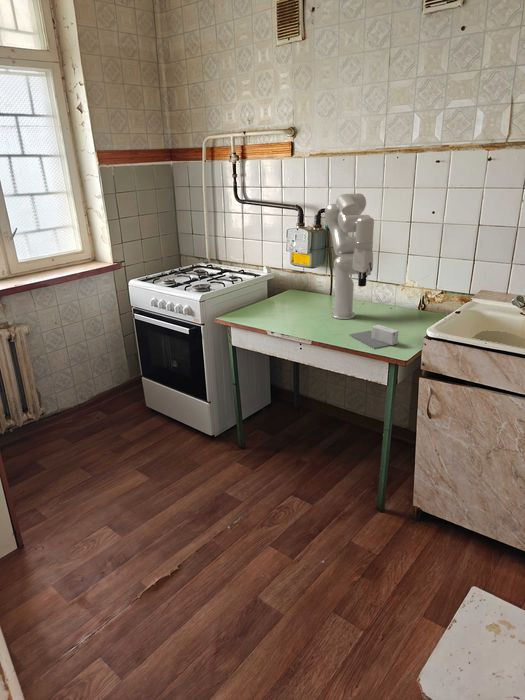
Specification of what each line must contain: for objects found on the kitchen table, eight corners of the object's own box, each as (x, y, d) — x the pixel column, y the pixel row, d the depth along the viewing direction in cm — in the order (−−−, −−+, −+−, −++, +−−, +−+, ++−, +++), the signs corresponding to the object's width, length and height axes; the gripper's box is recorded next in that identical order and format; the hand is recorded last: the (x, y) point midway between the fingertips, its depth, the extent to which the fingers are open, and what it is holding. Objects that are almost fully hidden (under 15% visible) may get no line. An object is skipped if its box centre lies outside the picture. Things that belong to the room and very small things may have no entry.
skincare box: (376, 336, 231) (398, 343, 222) (370, 338, 229) (392, 346, 220) (377, 323, 229) (399, 330, 220) (371, 326, 226) (393, 332, 217)
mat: (348, 335, 235) (348, 334, 235) (370, 331, 239) (370, 330, 239) (374, 349, 218) (374, 347, 217) (396, 344, 222) (396, 343, 222)
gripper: (347, 244, 227) (346, 283, 234) (366, 249, 214) (364, 290, 221) (361, 242, 230) (359, 281, 236) (381, 247, 217) (378, 288, 224)
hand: (362, 285), depth 229 cm, fingers closed
